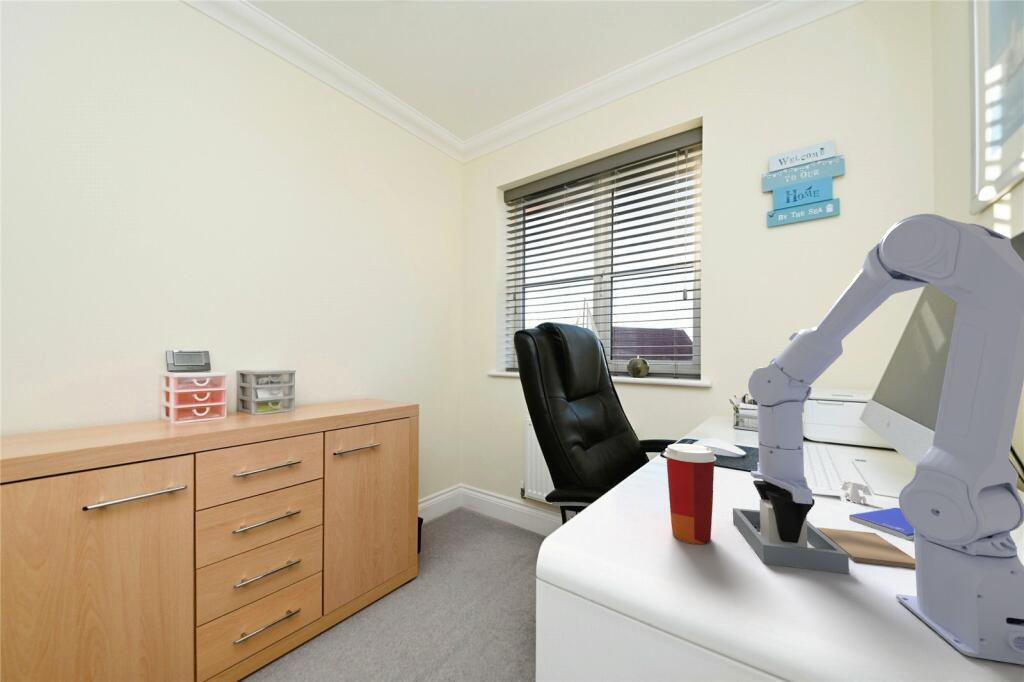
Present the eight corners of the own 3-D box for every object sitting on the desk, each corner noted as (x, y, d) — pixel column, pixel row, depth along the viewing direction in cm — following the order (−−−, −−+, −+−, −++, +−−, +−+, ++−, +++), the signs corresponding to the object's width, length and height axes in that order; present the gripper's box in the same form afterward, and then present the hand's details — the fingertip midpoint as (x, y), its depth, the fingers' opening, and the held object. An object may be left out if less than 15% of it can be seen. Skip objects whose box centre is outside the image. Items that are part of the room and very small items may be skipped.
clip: (873, 504, 76) (872, 485, 76) (870, 506, 75) (869, 486, 75) (841, 497, 80) (840, 478, 81) (837, 498, 79) (837, 480, 80)
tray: (849, 573, 51) (848, 554, 51) (763, 563, 54) (763, 544, 54) (799, 529, 65) (799, 514, 65) (733, 522, 67) (732, 508, 67)
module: (807, 552, 57) (806, 510, 57) (769, 548, 58) (768, 507, 58) (796, 541, 60) (795, 502, 61) (760, 537, 61) (759, 499, 62)
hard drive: (907, 533, 61) (954, 524, 65) (849, 513, 69) (894, 506, 73) (908, 543, 61) (955, 533, 65) (849, 522, 69) (894, 514, 73)
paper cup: (712, 529, 64) (710, 444, 65) (723, 551, 57) (721, 455, 58) (662, 523, 67) (660, 441, 67) (667, 544, 59) (665, 451, 60)
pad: (923, 569, 52) (923, 564, 52) (853, 561, 54) (853, 556, 54) (875, 536, 62) (874, 532, 62) (816, 531, 64) (816, 527, 64)
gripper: (737, 435, 68) (738, 514, 67) (769, 454, 54) (772, 554, 53) (782, 437, 66) (785, 518, 65) (828, 458, 52) (832, 561, 51)
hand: (782, 535), depth 59 cm, fingers closed on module, 3 cm apart
